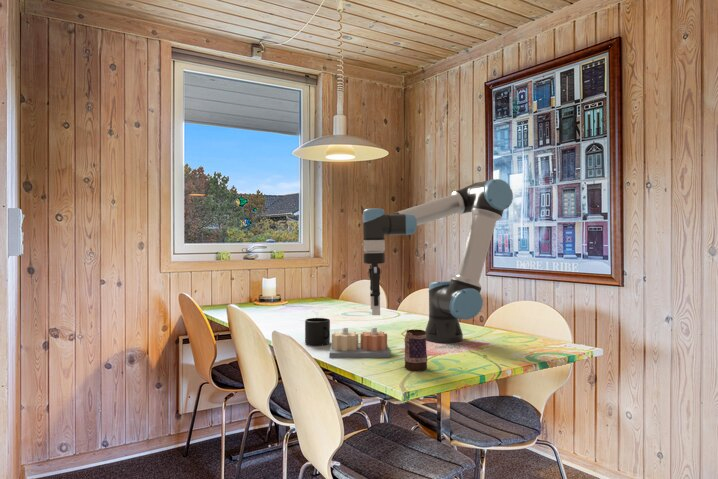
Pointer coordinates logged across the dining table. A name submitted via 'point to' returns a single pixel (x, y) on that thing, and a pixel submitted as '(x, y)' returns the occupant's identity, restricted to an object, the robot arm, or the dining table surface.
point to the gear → (373, 341)
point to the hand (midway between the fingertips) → (375, 312)
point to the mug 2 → (415, 350)
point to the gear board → (359, 353)
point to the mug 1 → (317, 331)
